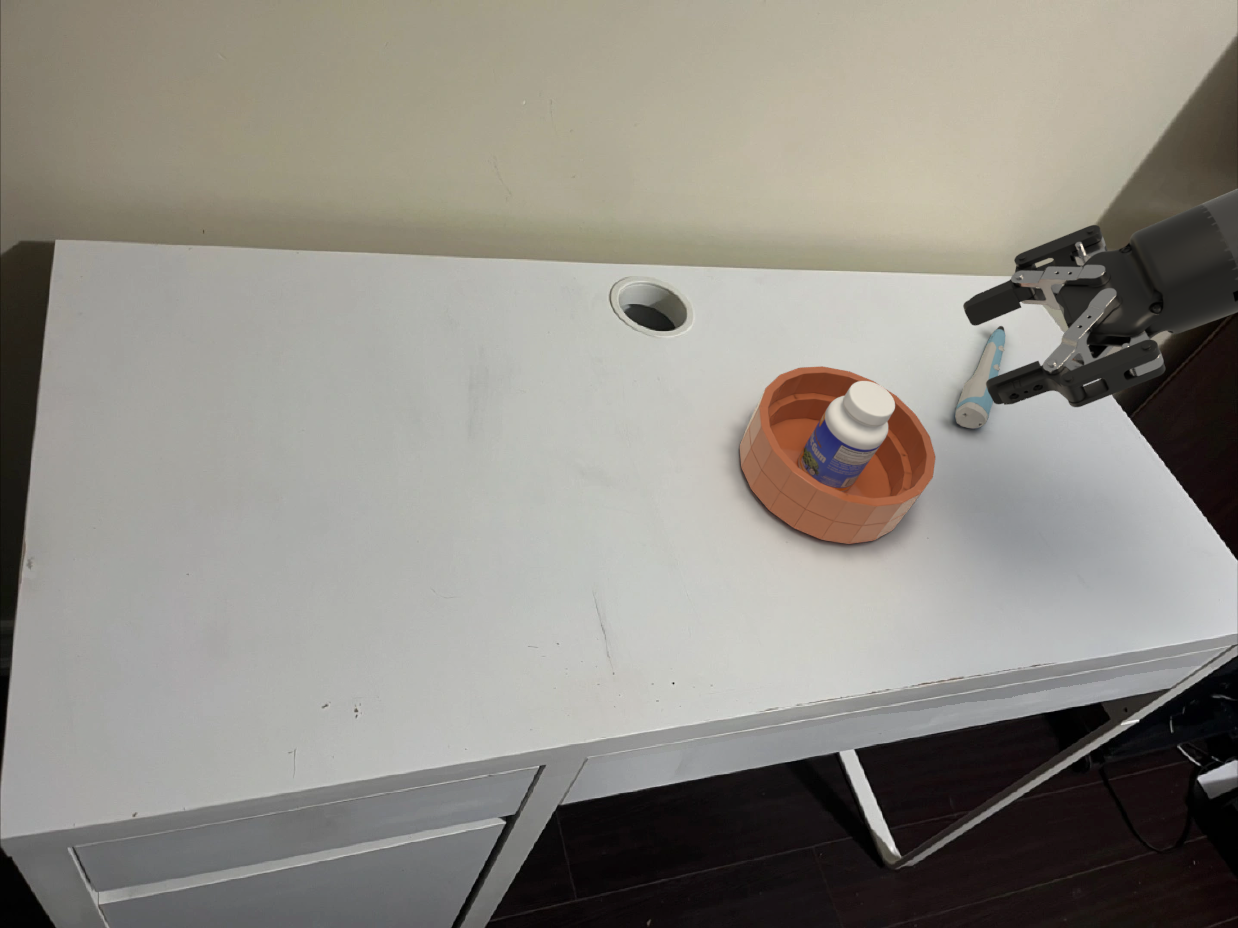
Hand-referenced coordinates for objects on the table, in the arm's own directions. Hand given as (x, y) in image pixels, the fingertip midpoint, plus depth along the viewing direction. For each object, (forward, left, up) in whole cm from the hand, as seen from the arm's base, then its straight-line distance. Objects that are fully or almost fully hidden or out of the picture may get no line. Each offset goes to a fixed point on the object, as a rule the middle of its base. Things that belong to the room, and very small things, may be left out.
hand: (978, 353), depth 64 cm
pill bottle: (+5, +2, -17) cm, 18 cm away
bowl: (+5, +2, -18) cm, 18 cm away
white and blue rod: (-1, -24, -18) cm, 30 cm away
